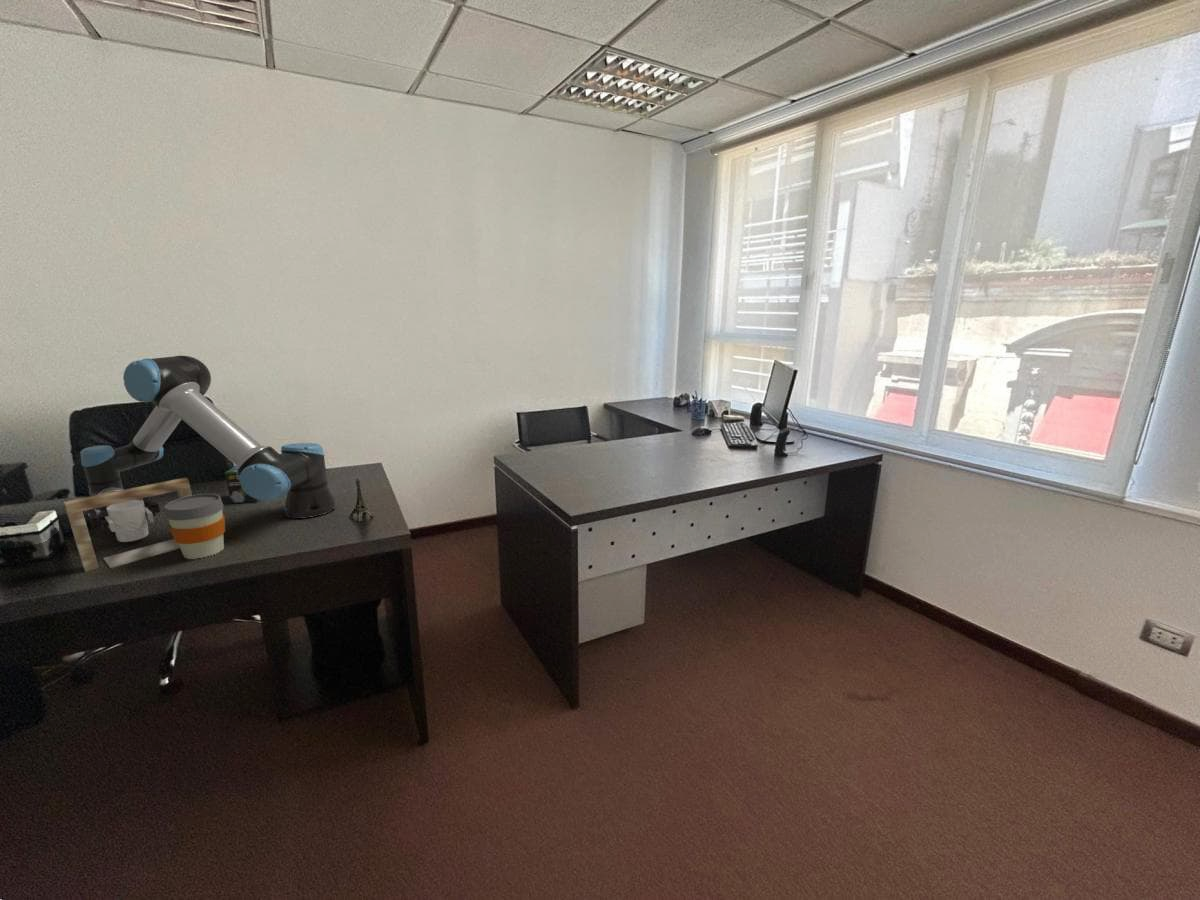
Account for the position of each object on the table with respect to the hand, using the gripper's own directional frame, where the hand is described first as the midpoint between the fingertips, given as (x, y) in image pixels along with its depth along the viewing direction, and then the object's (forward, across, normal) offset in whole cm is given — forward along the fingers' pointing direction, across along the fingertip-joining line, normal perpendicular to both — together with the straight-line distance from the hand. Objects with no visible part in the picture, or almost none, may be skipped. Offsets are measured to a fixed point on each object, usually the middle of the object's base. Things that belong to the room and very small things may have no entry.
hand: (132, 522), depth 140 cm
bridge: (+7, 0, -7) cm, 10 cm away
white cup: (-5, 0, -6) cm, 8 cm away
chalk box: (-18, -34, -8) cm, 39 cm away
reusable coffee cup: (+18, -11, -8) cm, 22 cm away
